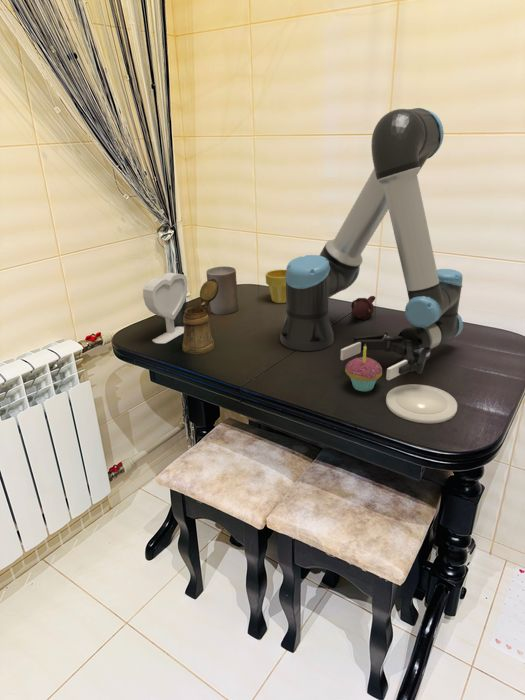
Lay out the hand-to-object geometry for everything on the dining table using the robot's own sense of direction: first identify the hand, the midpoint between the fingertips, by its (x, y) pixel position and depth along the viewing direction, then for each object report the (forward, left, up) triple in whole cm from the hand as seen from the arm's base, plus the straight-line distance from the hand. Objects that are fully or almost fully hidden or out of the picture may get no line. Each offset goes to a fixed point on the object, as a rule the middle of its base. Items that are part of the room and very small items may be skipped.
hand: (363, 364), depth 116 cm
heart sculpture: (-61, +10, -7) cm, 62 cm away
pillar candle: (-57, +34, -7) cm, 67 cm away
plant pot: (-43, +50, -7) cm, 66 cm away
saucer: (+14, -2, -6) cm, 15 cm away
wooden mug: (-48, +7, -7) cm, 49 cm away
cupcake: (0, +1, -7) cm, 7 cm away
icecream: (-13, +44, -7) cm, 46 cm away
